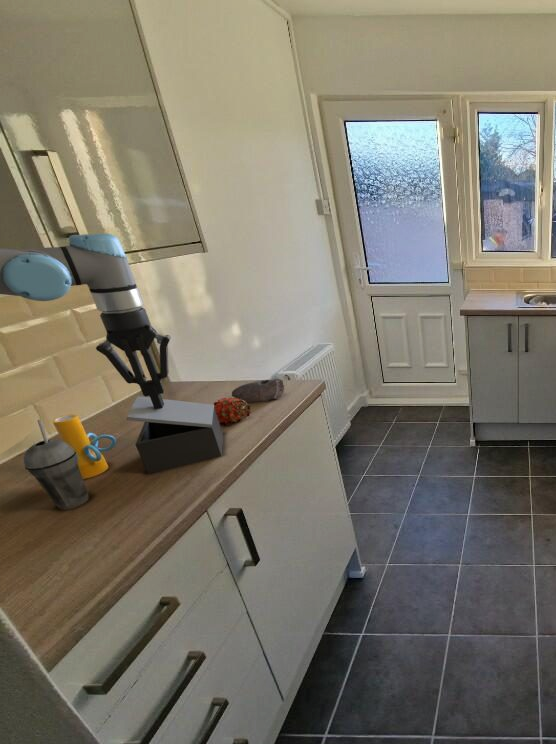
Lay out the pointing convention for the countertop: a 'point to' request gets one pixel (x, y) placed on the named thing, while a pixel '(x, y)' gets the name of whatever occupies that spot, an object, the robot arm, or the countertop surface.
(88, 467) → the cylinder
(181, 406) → the pod lid
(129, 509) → the countertop surface
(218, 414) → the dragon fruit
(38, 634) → the countertop surface
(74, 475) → the beverage cup
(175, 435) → the dark grey storage bin
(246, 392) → the perforated stone tool
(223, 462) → the countertop surface
